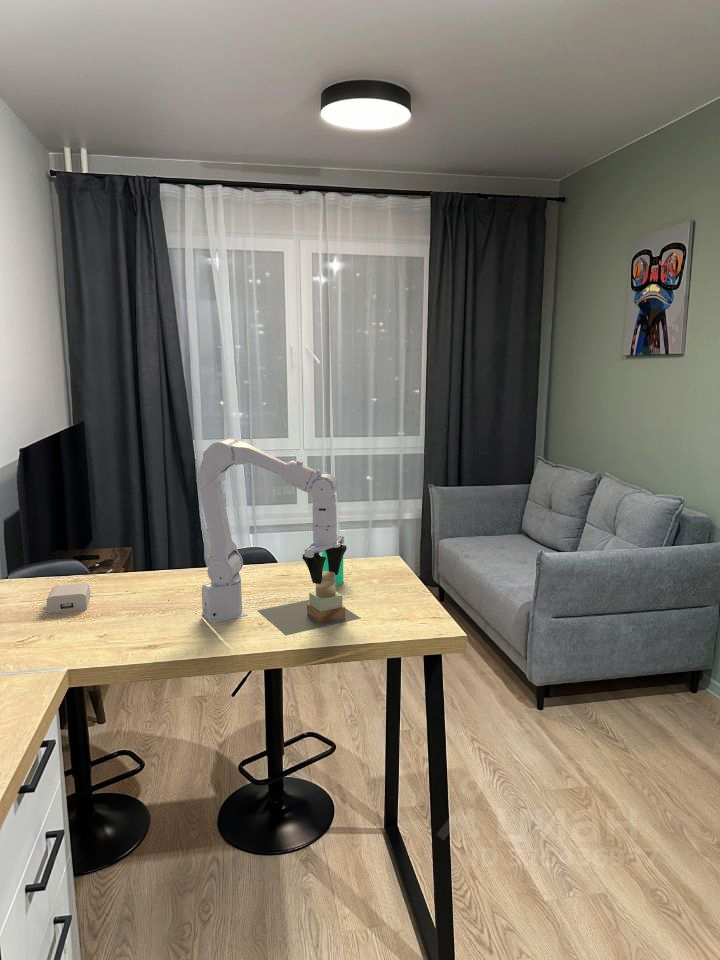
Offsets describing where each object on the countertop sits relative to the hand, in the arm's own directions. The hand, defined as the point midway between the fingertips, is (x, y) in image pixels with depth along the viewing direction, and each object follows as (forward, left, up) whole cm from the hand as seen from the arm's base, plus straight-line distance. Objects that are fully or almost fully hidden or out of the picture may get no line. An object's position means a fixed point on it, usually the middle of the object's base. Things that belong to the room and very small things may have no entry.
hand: (325, 578), depth 162 cm
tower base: (0, 0, -10) cm, 10 cm away
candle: (+14, +23, -11) cm, 29 cm away
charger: (-53, +45, -11) cm, 70 cm away
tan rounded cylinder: (0, 0, -4) cm, 4 cm away
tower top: (0, 0, -7) cm, 7 cm away
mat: (-3, +4, -10) cm, 12 cm away
